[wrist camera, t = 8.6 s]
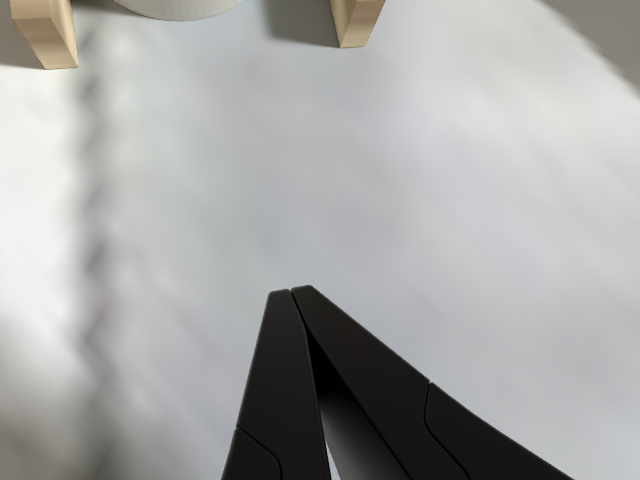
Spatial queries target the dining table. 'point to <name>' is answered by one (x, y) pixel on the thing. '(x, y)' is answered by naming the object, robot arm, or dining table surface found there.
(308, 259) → the dining table surface
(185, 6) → the cup
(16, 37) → the dining table surface
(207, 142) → the dining table surface
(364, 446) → the robot arm
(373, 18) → the open wooden frame
